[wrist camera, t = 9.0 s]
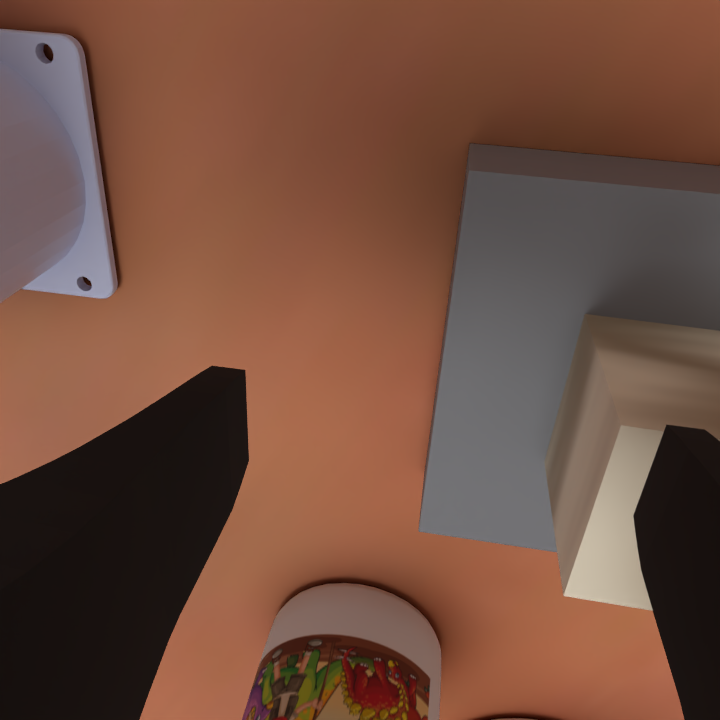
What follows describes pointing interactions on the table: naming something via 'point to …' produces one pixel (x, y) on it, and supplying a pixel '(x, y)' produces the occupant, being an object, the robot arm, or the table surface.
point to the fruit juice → (514, 719)
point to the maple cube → (621, 443)
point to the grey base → (551, 314)
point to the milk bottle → (348, 659)
